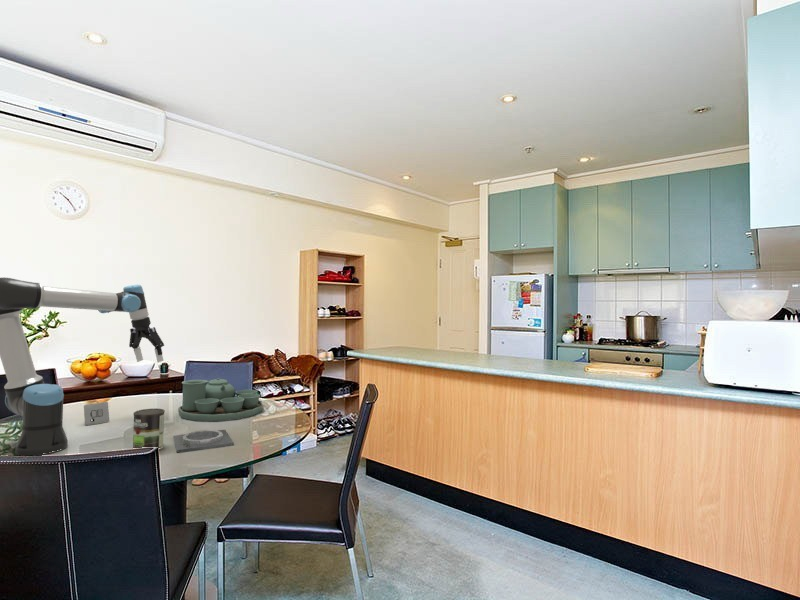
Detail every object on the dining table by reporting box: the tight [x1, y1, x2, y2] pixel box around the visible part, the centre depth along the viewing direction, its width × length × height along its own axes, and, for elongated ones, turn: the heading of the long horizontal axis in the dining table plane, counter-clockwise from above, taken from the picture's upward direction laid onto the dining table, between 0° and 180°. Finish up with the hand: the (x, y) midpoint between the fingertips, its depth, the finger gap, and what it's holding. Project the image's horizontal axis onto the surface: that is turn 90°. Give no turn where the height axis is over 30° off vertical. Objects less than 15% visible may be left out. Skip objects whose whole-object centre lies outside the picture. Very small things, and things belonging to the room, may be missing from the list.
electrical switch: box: [83, 401, 110, 426], centre depth 202 cm, size 9×5×9 cm, turn 141°
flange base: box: [172, 429, 235, 453], centre depth 178 cm, size 20×20×2 cm
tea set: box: [177, 377, 263, 422], centre depth 227 cm, size 40×40×16 cm
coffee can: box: [132, 408, 165, 450], centre depth 168 cm, size 10×10×14 cm
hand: (150, 361), depth 211 cm, fingers open, 13 cm apart
